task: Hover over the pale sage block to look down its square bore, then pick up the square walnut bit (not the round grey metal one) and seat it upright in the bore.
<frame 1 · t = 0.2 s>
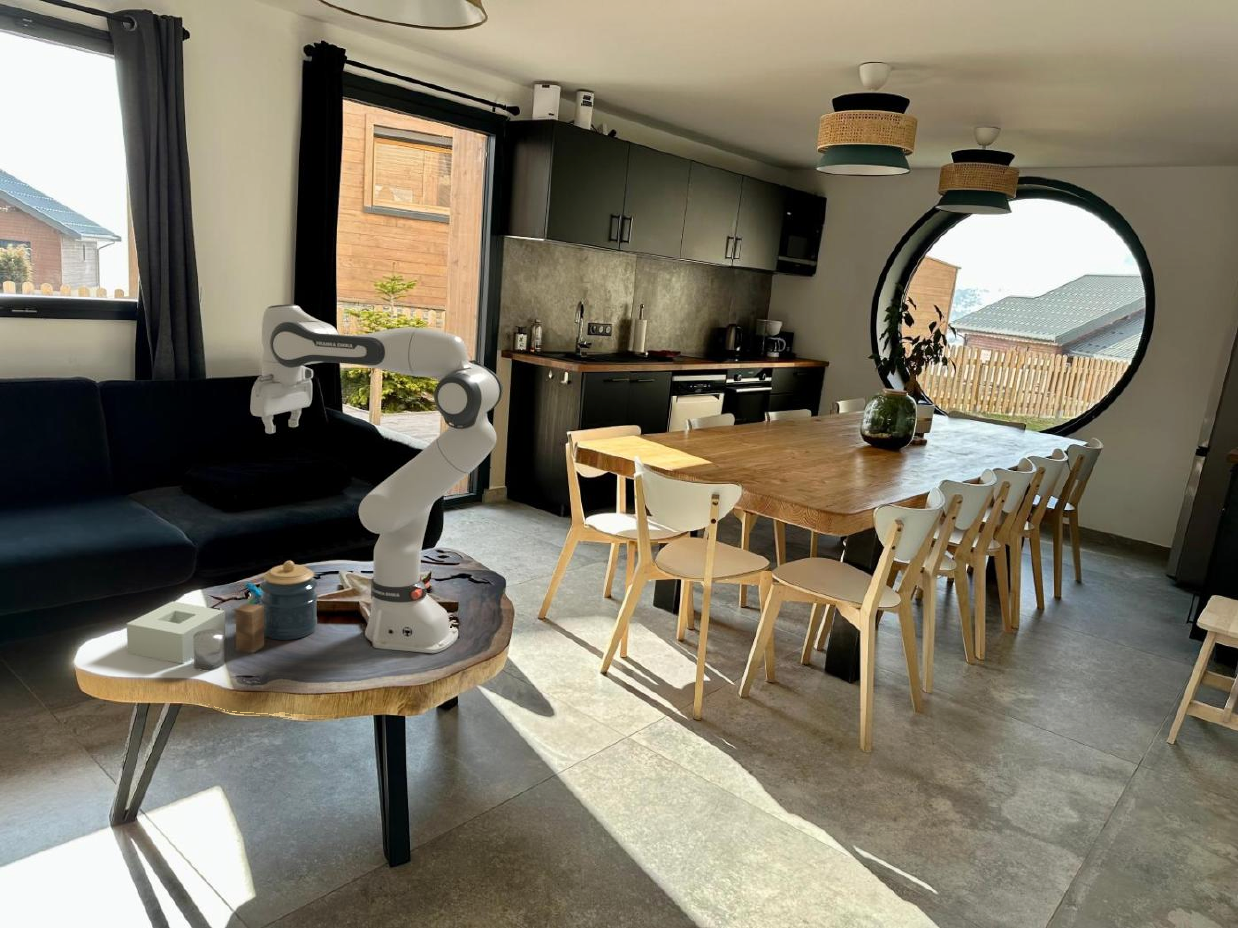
hand: (282, 429, 203), 48 cm above the table, fingers open, 8 cm apart
blue irregular piece: (261, 610, 215), on the table
round bit: (209, 664, 185), on the table
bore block: (178, 645, 192), on the table
canister: (288, 630, 205), on the table
square bit: (250, 648, 194), on the table
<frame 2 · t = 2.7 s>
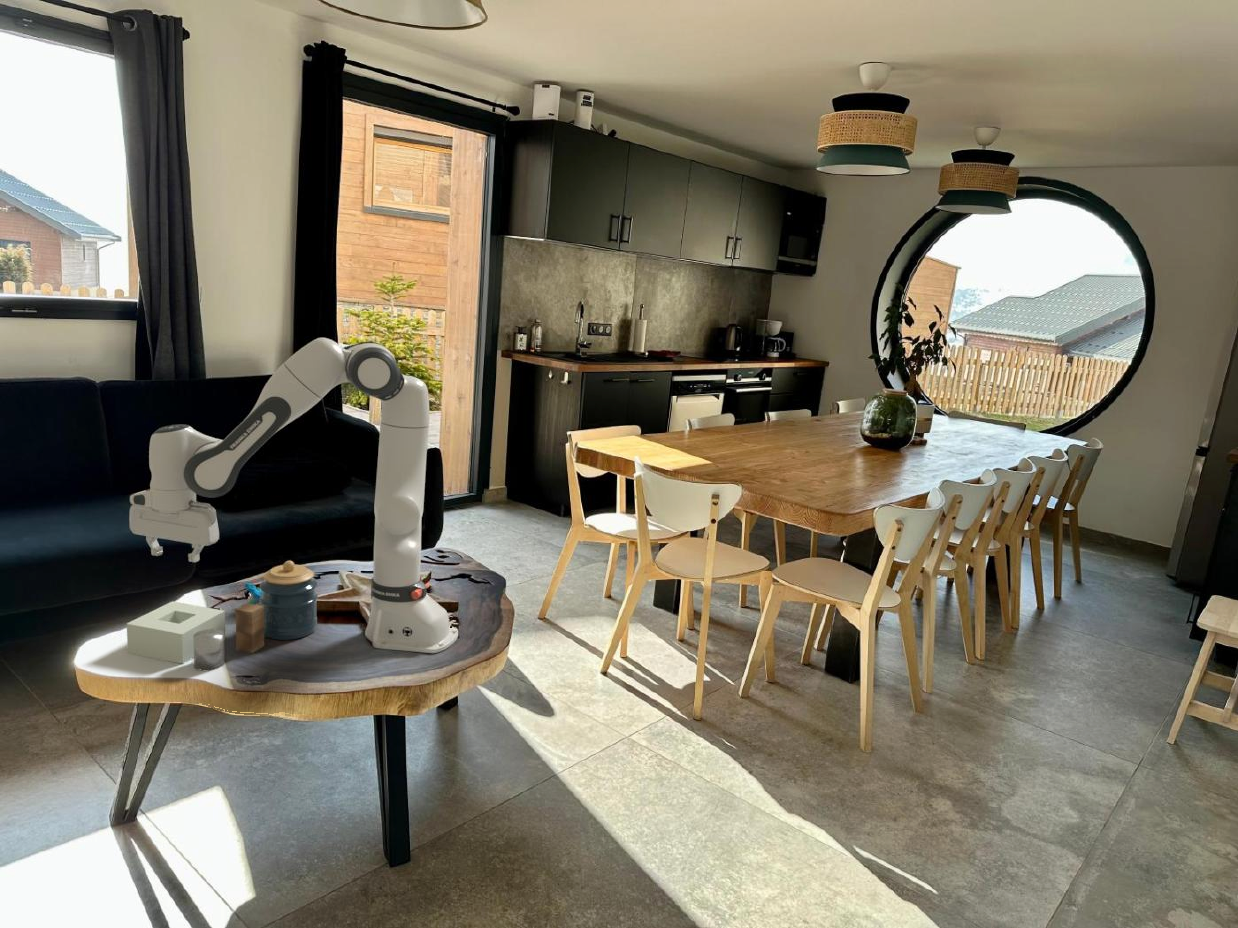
hand: (175, 557, 187), 21 cm above the table, fingers open, 8 cm apart
nothing on the table moved.
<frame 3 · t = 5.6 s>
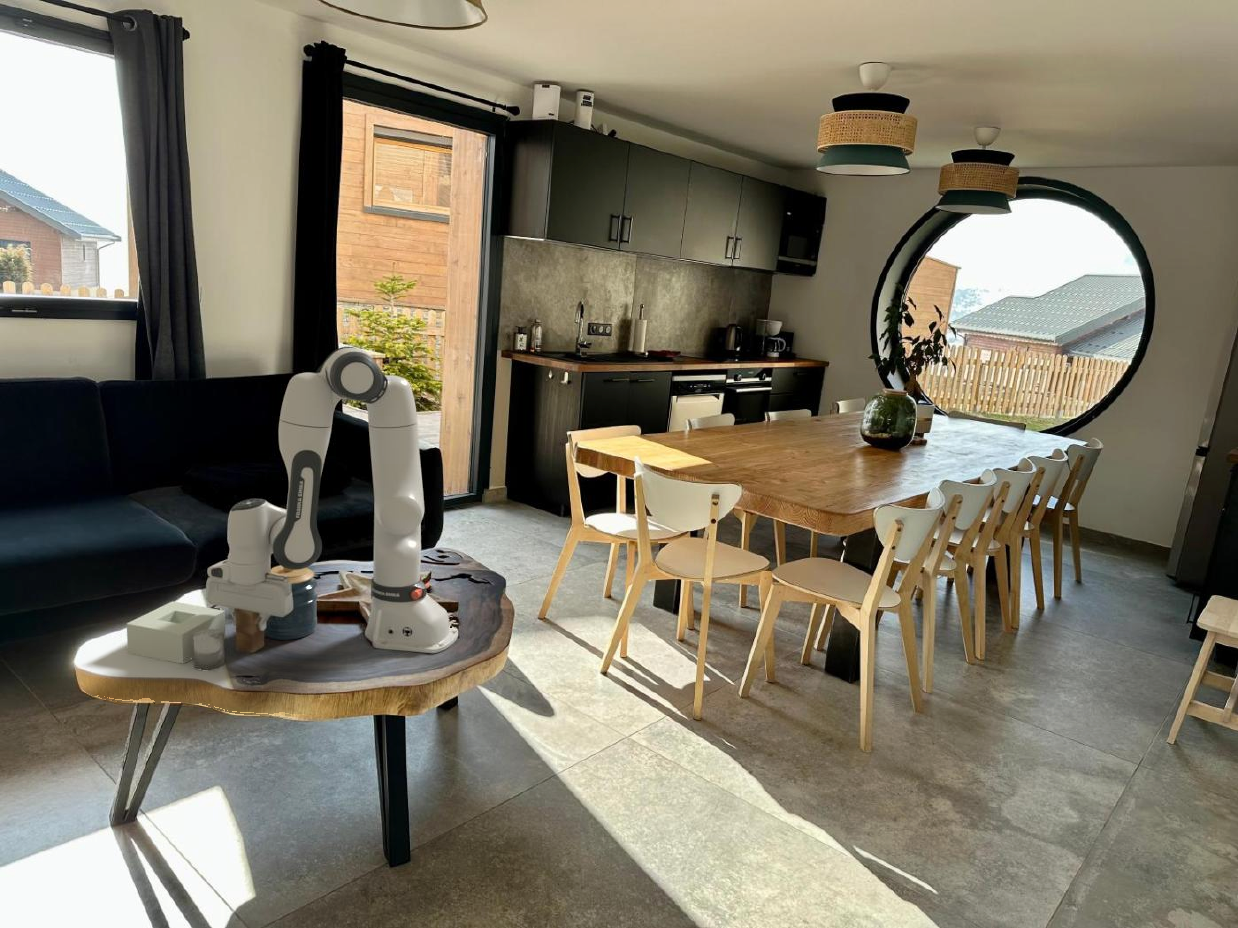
hand: (250, 627, 193), 5 cm above the table, fingers closed on square bit, 4 cm apart
square bit: (250, 648, 194), on the table, touching gripper
everything else where it was.
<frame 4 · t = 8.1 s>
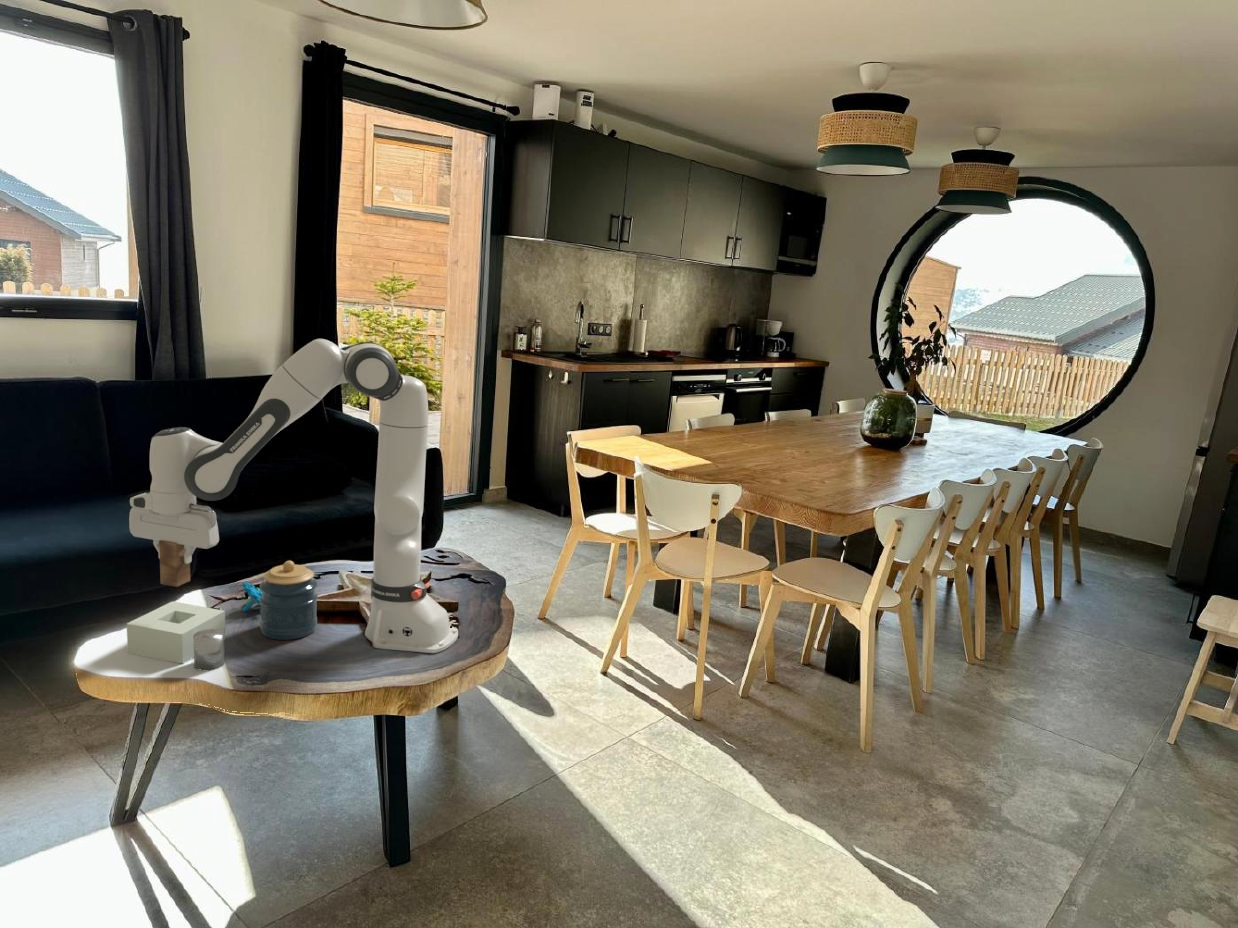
hand: (175, 560, 187), 20 cm above the table, fingers closed on square bit, 4 cm apart
square bit: (175, 582, 188), point 15 cm above the table, touching gripper
everything else where it was.
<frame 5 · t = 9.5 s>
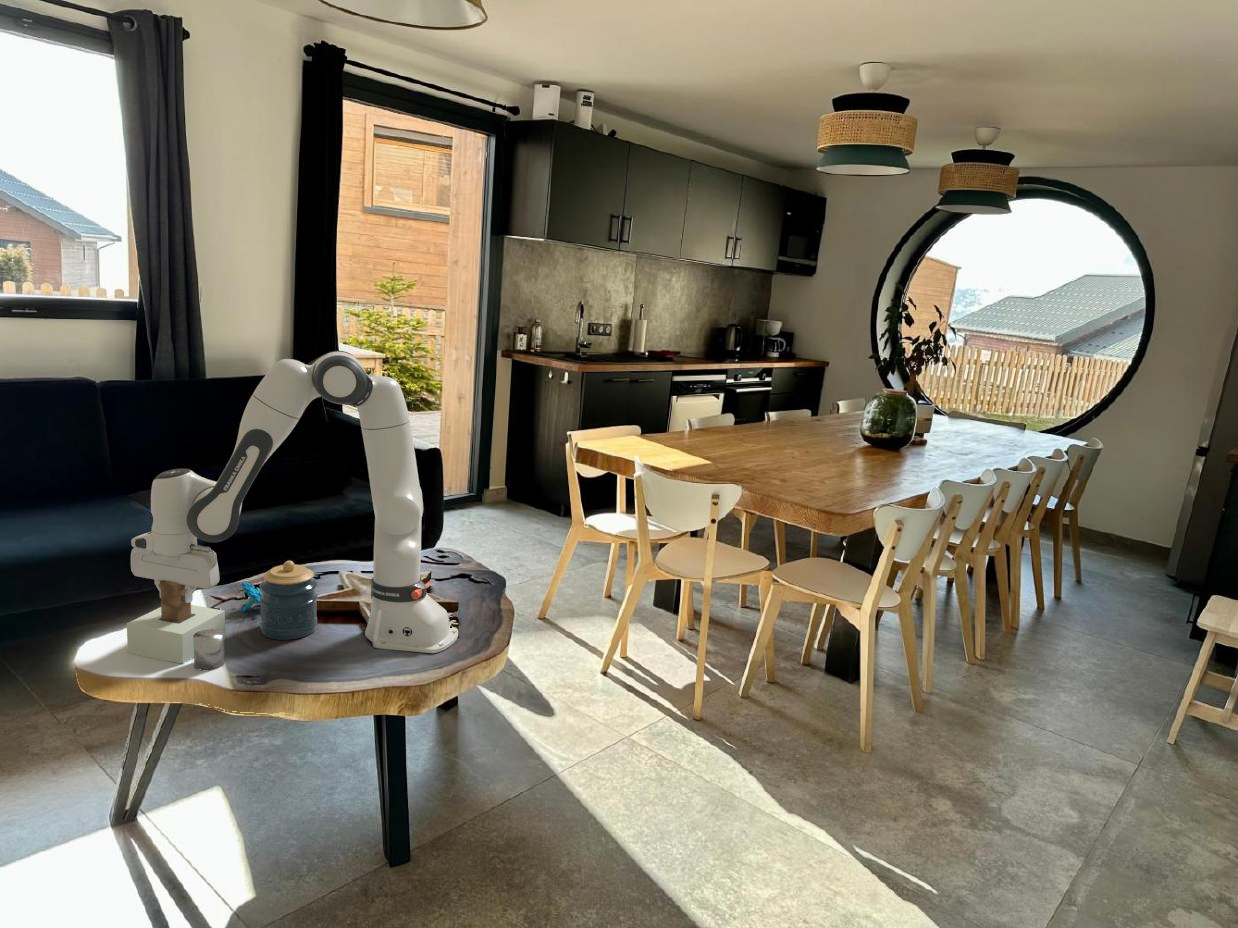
hand: (176, 599, 189), 11 cm above the table, fingers closed on square bit, 4 cm apart
square bit: (176, 620, 190), point 6 cm above the table, touching gripper
everything else where it was.
when the fingers open (7 cm above the table, at t = 10.6 s): square bit drops 2 cm, resting in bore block.
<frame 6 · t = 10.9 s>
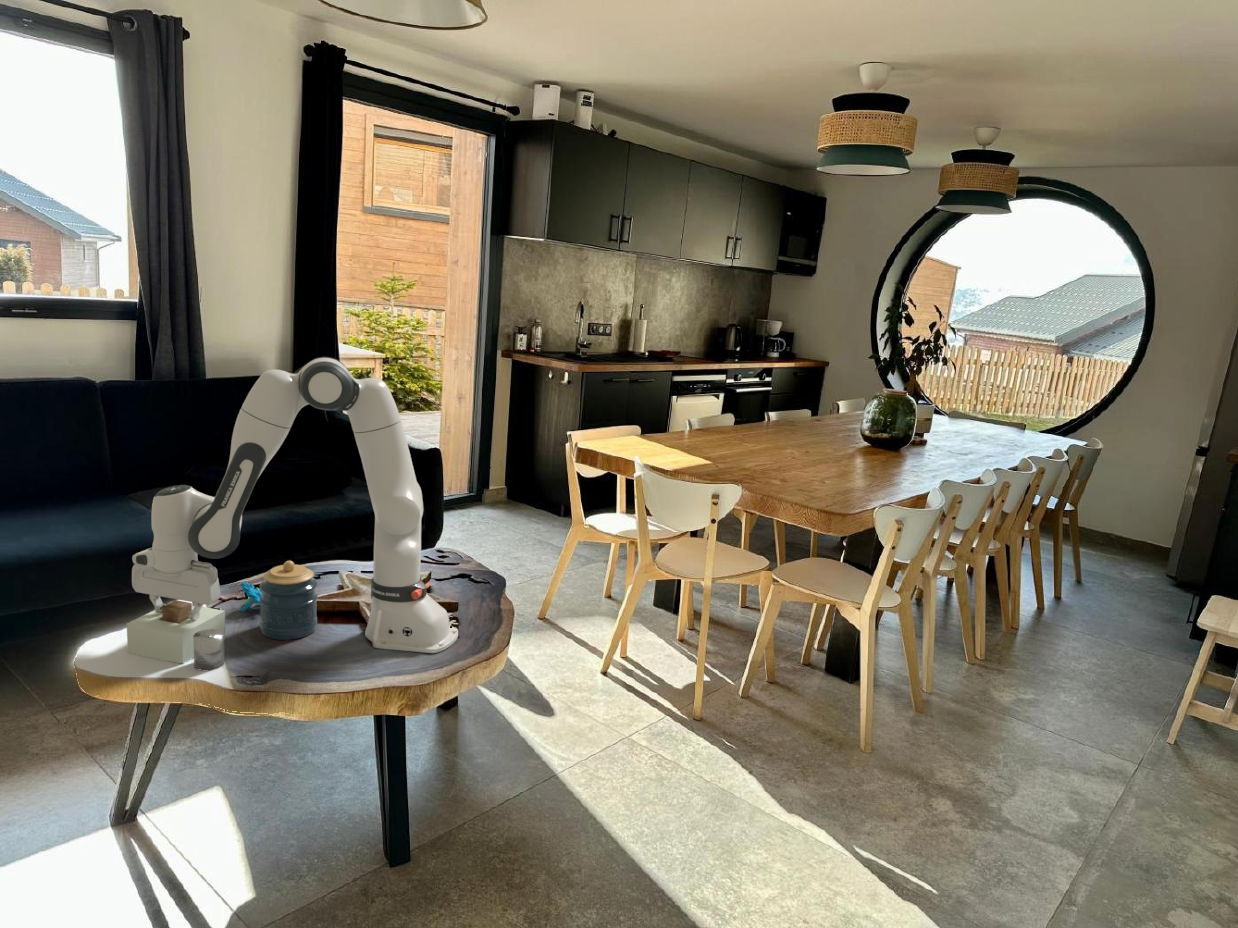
hand: (177, 615, 190), 7 cm above the table, fingers open, 7 cm apart
square bit: (178, 645, 192), resting in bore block
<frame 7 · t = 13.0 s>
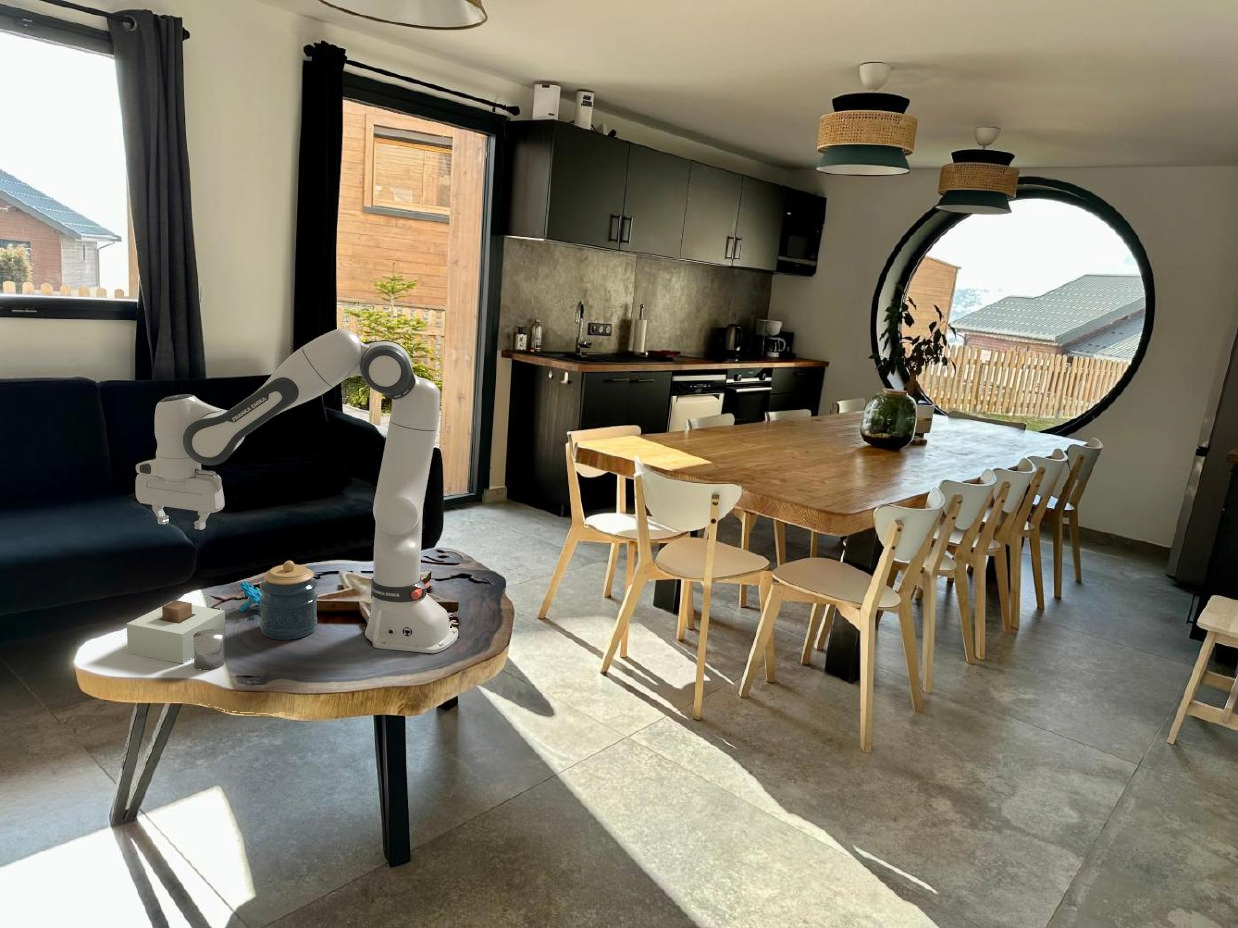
hand: (181, 526, 191), 27 cm above the table, fingers open, 8 cm apart
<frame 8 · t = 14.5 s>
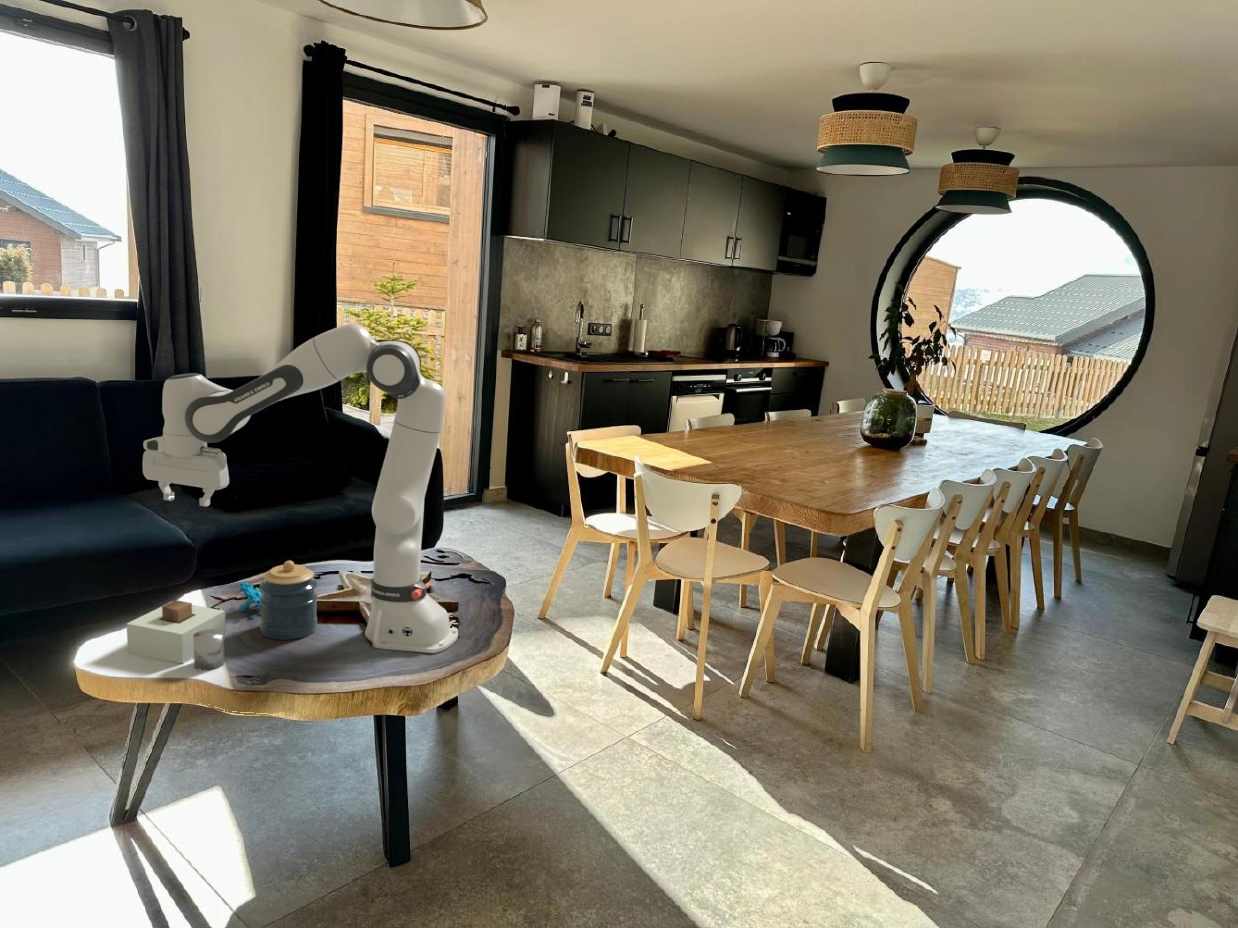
hand: (186, 502, 194), 31 cm above the table, fingers open, 8 cm apart
at the end: square bit 0.1 cm off-centre on the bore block, point 0.0 cm above the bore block's base; square bit tilted 0°; the gripper is holding nothing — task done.
